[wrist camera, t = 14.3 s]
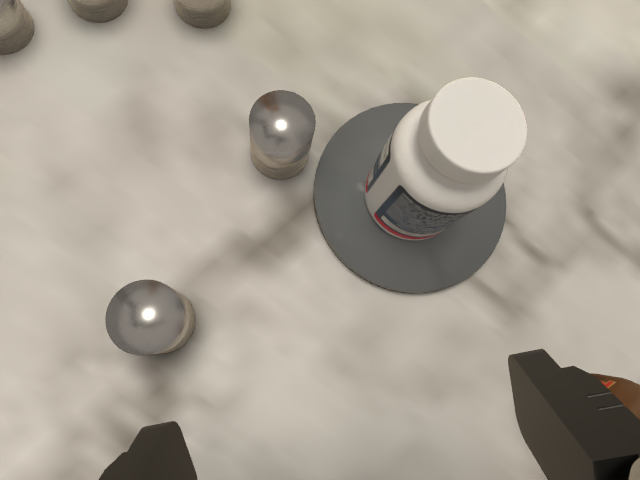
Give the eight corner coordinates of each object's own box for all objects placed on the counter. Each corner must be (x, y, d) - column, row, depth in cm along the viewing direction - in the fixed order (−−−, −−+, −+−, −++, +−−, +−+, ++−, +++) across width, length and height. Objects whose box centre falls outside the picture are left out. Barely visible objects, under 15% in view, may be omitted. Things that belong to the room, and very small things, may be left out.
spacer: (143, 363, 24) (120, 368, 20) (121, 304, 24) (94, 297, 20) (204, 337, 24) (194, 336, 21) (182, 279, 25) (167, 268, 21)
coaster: (364, 326, 26) (367, 325, 25) (282, 145, 27) (282, 141, 27) (533, 246, 28) (539, 244, 27) (448, 83, 29) (452, 78, 29)
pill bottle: (467, 226, 27) (566, 171, 18) (381, 253, 26) (442, 208, 17) (434, 141, 28) (513, 49, 19) (349, 164, 27) (393, 78, 18)
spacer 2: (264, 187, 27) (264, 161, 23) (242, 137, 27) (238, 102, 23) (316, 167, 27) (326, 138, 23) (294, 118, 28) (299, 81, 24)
